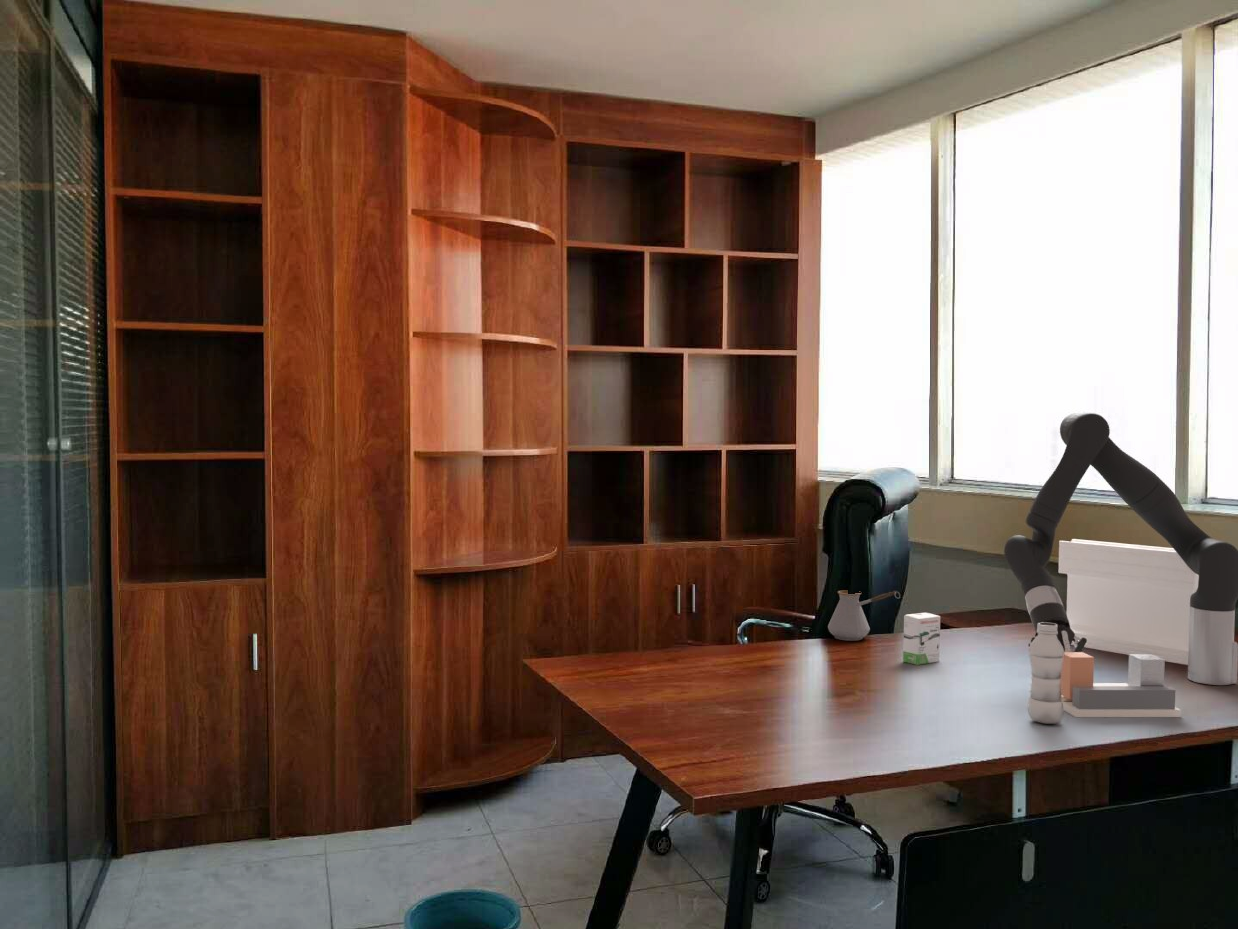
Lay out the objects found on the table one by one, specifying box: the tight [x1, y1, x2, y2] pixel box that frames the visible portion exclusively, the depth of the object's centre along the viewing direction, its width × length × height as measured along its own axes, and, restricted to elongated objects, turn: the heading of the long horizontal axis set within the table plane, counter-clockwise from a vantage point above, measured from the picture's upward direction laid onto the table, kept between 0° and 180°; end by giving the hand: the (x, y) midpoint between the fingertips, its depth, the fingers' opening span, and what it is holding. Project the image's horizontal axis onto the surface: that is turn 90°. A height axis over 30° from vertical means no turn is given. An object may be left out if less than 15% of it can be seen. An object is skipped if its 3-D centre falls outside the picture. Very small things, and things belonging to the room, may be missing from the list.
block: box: [1058, 538, 1199, 666], centre depth 280 cm, size 35×8×28 cm, turn 41°
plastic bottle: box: [1027, 622, 1065, 725], centre depth 213 cm, size 6×7×20 cm
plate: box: [1030, 682, 1182, 718], centre depth 229 cm, size 22×22×6 cm
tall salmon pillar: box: [1060, 651, 1095, 700], centre depth 226 cm, size 5×5×9 cm
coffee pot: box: [827, 589, 901, 642], centre depth 291 cm, size 21×12×15 cm, turn 44°
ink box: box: [902, 612, 941, 666], centre depth 267 cm, size 9×5×12 cm, turn 123°
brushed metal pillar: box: [1127, 654, 1166, 686], centre depth 224 cm, size 5×5×9 cm
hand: (1069, 677), depth 229 cm, fingers closed
